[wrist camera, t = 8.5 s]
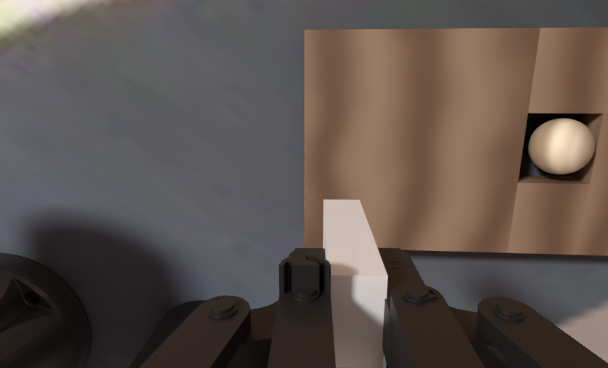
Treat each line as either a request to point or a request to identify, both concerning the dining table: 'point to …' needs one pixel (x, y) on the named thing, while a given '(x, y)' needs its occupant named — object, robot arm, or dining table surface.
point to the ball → (561, 146)
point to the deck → (455, 136)
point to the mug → (164, 331)
